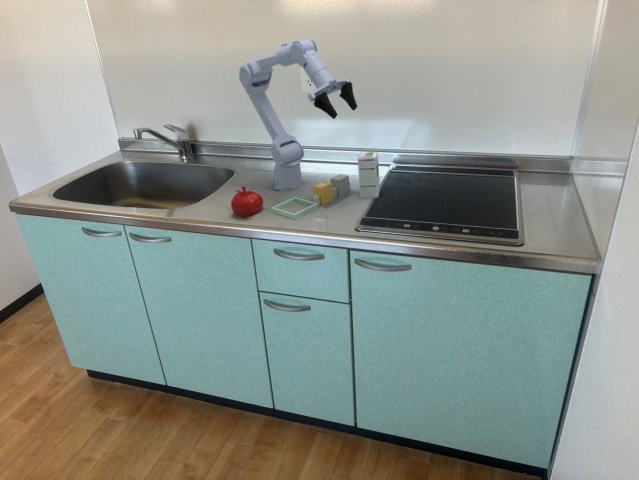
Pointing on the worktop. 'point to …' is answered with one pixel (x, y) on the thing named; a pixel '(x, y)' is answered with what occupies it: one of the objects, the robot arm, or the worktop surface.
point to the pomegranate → (246, 203)
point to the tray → (294, 216)
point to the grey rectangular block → (340, 184)
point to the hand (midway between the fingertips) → (345, 112)
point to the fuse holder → (335, 198)
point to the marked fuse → (324, 192)
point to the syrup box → (368, 175)
